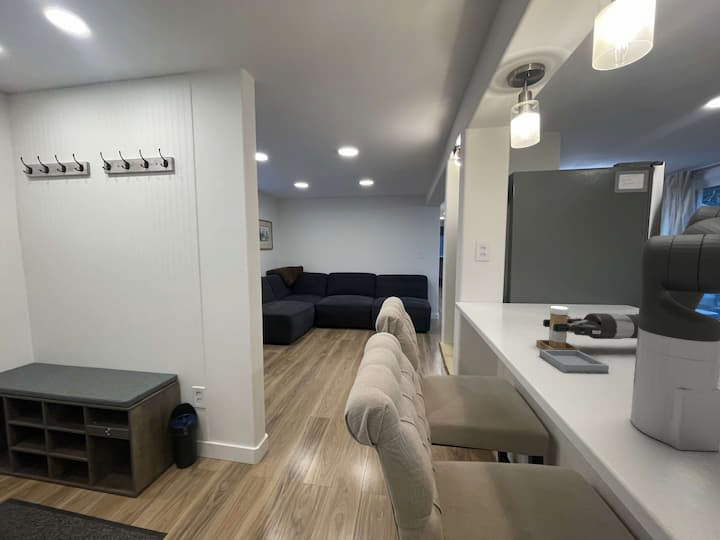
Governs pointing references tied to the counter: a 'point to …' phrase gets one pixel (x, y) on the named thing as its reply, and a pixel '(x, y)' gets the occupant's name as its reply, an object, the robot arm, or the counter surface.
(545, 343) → the wooden picture frame
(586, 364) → the slate tray
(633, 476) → the counter surface
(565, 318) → the sprinkles bottle
